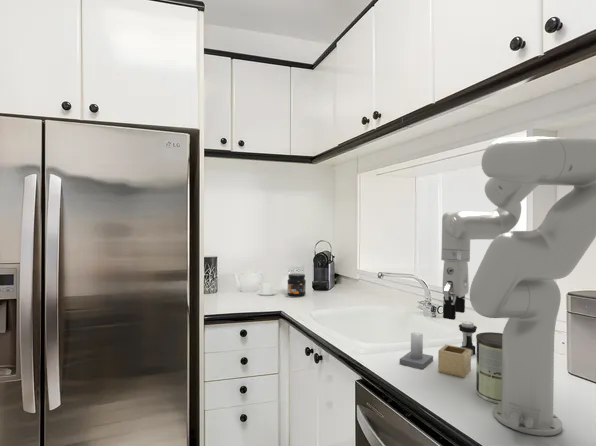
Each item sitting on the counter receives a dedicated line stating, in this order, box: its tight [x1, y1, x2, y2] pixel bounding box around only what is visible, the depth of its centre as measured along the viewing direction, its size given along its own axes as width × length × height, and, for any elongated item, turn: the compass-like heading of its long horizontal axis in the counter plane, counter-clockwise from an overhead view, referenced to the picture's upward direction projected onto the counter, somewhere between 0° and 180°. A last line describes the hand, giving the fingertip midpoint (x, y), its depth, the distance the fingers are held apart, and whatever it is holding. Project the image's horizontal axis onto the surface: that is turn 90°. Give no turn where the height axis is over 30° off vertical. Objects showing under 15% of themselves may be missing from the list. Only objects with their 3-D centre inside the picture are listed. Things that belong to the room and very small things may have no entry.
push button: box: [458, 321, 478, 356], centre depth 125 cm, size 7×5×10 cm
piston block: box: [399, 332, 434, 370], centre depth 118 cm, size 9×7×8 cm
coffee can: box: [475, 331, 503, 405], centre depth 95 cm, size 10×10×14 cm
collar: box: [437, 344, 472, 379], centre depth 111 cm, size 7×7×6 cm
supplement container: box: [286, 273, 307, 298], centre depth 225 cm, size 10×10×12 cm
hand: (454, 315), depth 112 cm, fingers open, 9 cm apart
